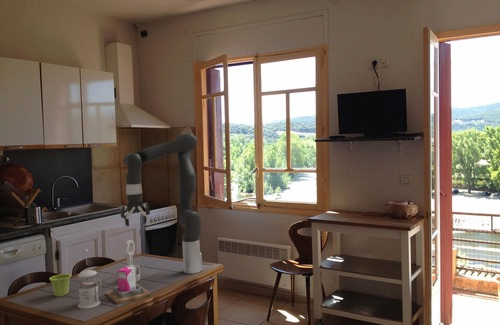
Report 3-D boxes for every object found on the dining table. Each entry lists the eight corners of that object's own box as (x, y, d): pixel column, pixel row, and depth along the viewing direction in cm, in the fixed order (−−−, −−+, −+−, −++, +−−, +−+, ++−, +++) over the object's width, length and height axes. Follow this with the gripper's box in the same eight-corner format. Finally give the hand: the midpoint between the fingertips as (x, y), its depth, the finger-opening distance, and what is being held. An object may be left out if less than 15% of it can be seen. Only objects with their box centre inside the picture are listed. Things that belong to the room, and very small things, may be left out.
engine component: (116, 282, 220) (134, 282, 218) (114, 243, 219) (132, 243, 217) (127, 275, 230) (144, 276, 228) (124, 238, 229) (142, 238, 227)
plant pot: (51, 293, 207) (49, 275, 207) (71, 289, 211) (70, 272, 211) (50, 299, 199) (49, 281, 198) (72, 295, 203) (71, 277, 202)
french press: (88, 299, 197) (85, 245, 196) (108, 301, 193) (105, 247, 192) (72, 306, 188) (69, 251, 187) (93, 309, 184) (89, 252, 182)
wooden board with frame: (138, 286, 211) (138, 280, 211) (150, 295, 198) (150, 288, 198) (106, 294, 202) (105, 287, 202) (116, 304, 189) (116, 296, 189)
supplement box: (127, 289, 204) (126, 266, 203) (136, 291, 201) (135, 267, 201) (118, 293, 199) (117, 269, 198) (127, 295, 196) (126, 271, 196)
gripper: (145, 191, 221) (146, 221, 222) (117, 193, 213) (119, 225, 214) (150, 192, 215) (152, 223, 216) (122, 195, 207) (124, 228, 208)
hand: (136, 224), depth 215 cm, fingers open, 8 cm apart
